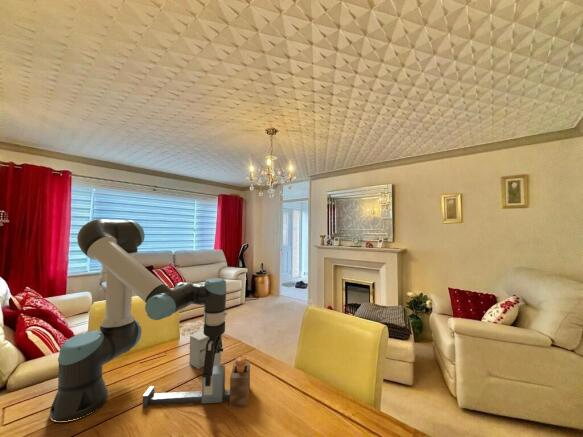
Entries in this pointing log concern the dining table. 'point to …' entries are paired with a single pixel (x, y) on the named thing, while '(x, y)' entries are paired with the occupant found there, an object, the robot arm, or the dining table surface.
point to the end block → (239, 386)
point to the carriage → (215, 386)
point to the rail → (175, 397)
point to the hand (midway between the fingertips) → (212, 381)
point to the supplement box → (198, 349)
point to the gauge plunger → (240, 364)
